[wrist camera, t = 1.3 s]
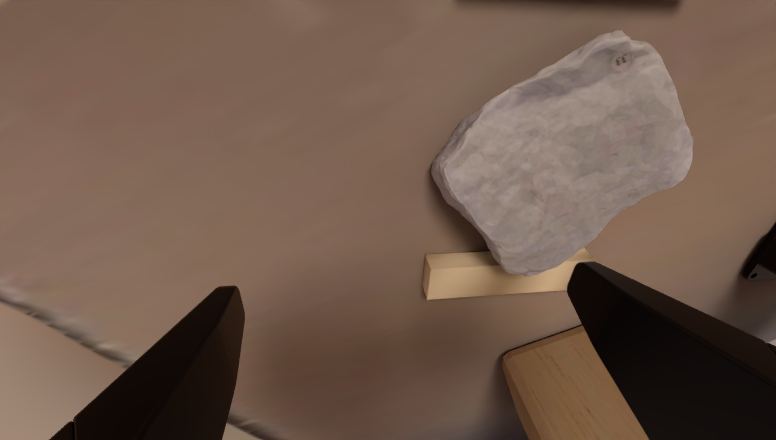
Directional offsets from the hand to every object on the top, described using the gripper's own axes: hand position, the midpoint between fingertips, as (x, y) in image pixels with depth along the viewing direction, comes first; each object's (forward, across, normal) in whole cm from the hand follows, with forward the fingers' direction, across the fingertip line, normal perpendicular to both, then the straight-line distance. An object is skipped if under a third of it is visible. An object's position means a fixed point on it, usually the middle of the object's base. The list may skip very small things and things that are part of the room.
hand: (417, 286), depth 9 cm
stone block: (+12, -10, +1) cm, 15 cm away
